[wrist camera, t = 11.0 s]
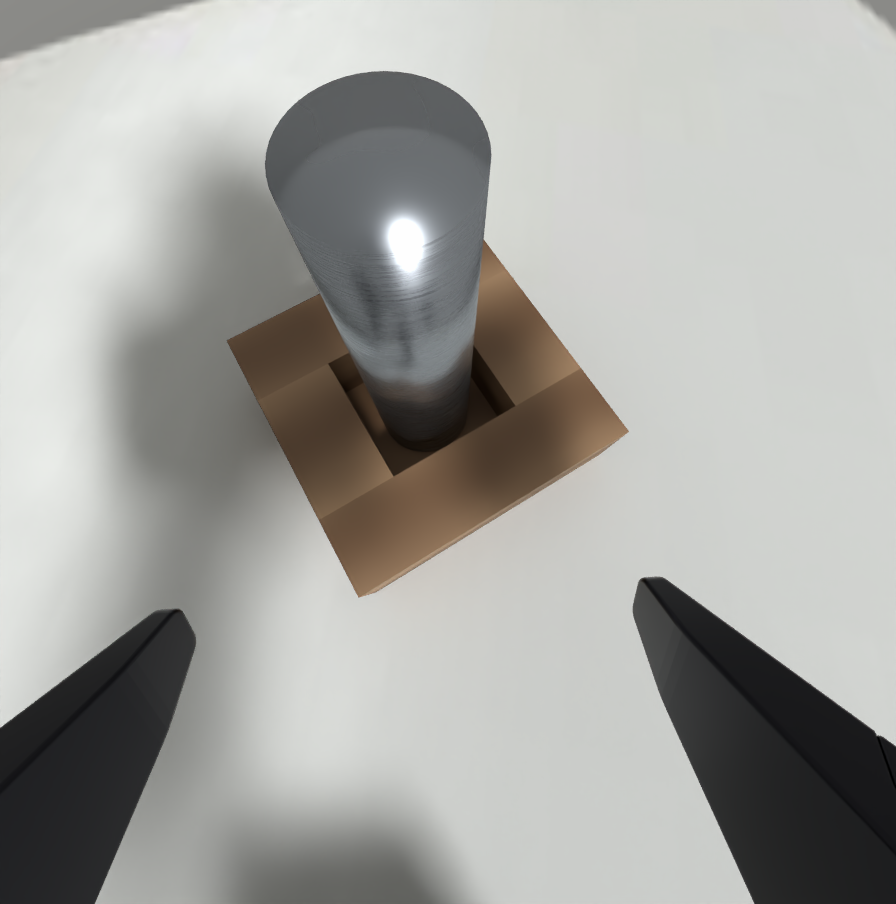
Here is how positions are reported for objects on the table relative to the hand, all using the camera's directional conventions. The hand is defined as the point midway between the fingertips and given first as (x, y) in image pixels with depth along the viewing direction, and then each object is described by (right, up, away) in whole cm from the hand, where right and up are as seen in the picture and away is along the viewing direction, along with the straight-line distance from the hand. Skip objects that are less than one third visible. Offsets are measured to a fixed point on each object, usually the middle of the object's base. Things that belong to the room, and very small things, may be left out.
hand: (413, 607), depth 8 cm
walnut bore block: (0, +5, +12) cm, 13 cm away
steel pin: (0, +5, +12) cm, 13 cm away
